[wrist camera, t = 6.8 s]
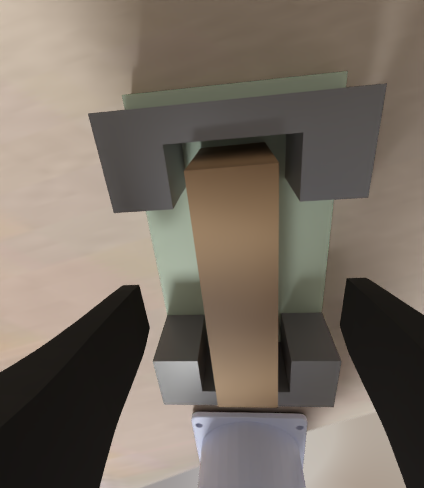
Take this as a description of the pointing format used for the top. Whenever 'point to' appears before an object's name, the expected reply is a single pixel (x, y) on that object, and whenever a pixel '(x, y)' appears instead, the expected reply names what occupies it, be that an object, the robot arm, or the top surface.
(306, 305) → the base board
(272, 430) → the robot arm
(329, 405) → the end caps
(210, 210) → the slat
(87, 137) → the top surface
